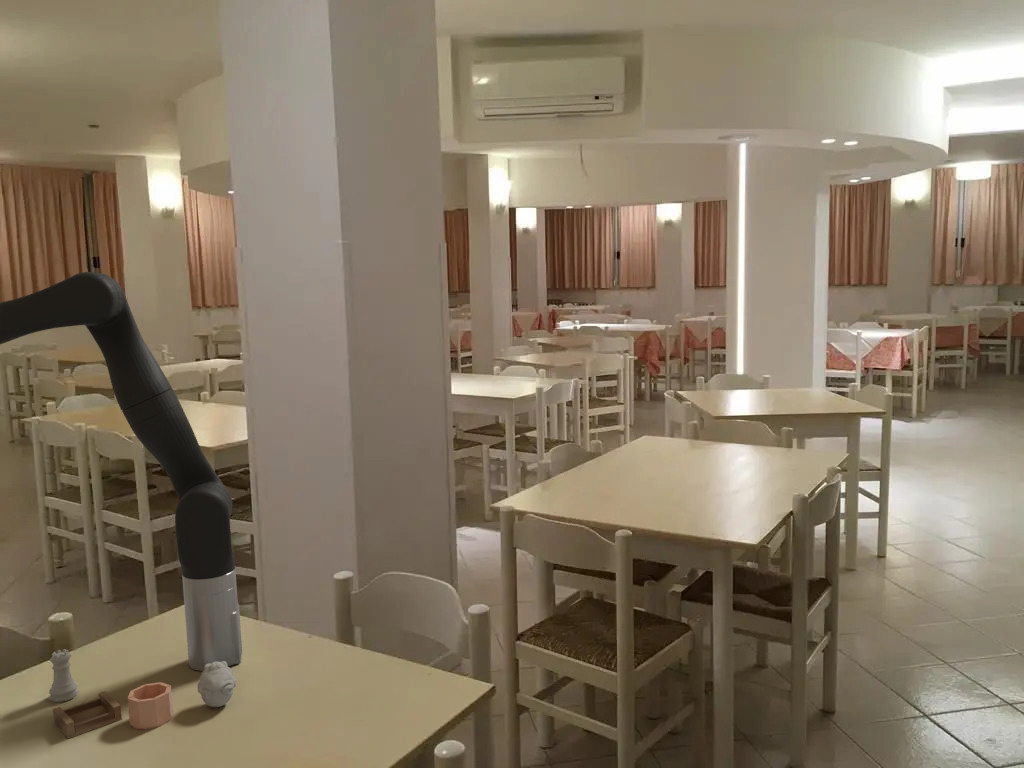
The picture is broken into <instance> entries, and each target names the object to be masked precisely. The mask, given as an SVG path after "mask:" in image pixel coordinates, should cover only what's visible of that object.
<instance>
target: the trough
mask: <svg viewBox="0 0 1024 768" xmlns="http://www.w3.org/2000/svg"><path fill="white" fill-rule="evenodd" d="M52 714H53V723H54V725H56V727H58V729H59V730H60V731H61V732H62V733H63V735H64V736H66V738H67V739H71V738H74V737H77V736H80V735H82V734H85V733H88V732H91V731H93V730H95V729H99V728H102V727H105V726H107V725H110V724H113V723H115V722H118V721H121V720H122V718H123V717H122V706H121V704H120V703H119V702H118V701H117V700H115V698H113V697H112V696H111V695H110V694H109V693H108V692H106V691H102V692H98V698H95V699H92V700H89V701H86V702H83V703H81V704H78V705H74V706H71V707H69V708H66V709H63V708H61V706H57V707H54V708H52Z"/></svg>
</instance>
